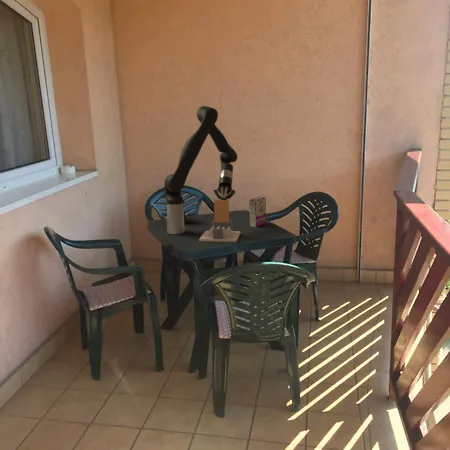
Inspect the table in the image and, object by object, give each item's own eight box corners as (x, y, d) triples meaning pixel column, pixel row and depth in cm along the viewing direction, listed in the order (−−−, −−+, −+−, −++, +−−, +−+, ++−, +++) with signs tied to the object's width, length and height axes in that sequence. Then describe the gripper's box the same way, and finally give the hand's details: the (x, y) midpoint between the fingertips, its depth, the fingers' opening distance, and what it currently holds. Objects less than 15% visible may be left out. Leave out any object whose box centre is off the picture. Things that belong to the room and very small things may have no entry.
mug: (166, 219, 317) (165, 196, 313) (183, 217, 320) (182, 194, 316) (171, 225, 300) (169, 201, 296) (189, 223, 303) (188, 199, 299)
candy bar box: (259, 222, 302) (259, 196, 298) (266, 223, 299) (266, 197, 295) (249, 226, 293) (248, 199, 289) (256, 227, 290) (256, 200, 286)
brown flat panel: (214, 223, 276) (213, 200, 273) (215, 222, 277) (214, 200, 274) (228, 223, 275) (228, 200, 272) (229, 223, 276) (228, 200, 273)
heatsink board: (199, 241, 265) (198, 226, 264) (205, 232, 282) (205, 219, 280) (236, 242, 262) (235, 227, 260) (240, 233, 278) (240, 219, 277)
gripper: (213, 175, 286) (210, 200, 277) (236, 175, 283) (233, 201, 275) (215, 183, 292) (212, 208, 283) (237, 183, 290) (235, 208, 281)
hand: (223, 204), depth 279 cm, fingers closed
